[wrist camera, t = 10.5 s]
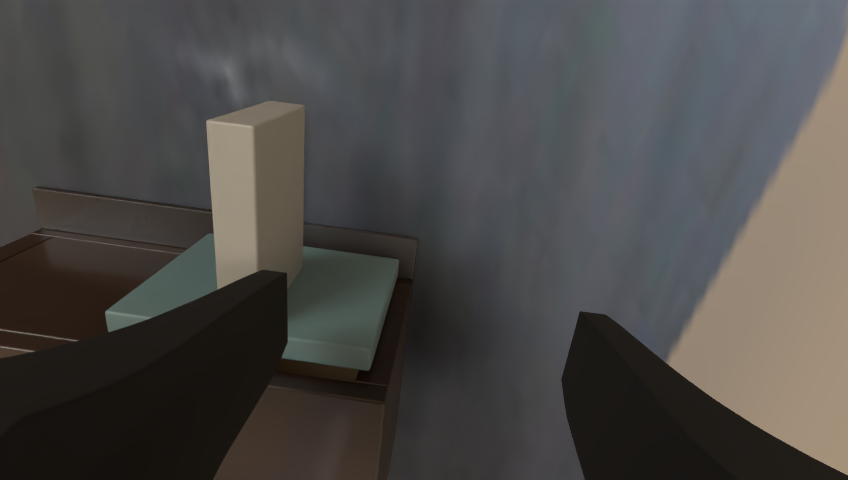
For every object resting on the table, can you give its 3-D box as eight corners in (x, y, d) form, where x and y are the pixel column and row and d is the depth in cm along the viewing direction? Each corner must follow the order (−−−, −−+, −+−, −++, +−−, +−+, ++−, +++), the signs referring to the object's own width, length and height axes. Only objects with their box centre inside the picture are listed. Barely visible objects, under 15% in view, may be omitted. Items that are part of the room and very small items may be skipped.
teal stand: (397, 276, 19) (369, 372, 14) (210, 249, 20) (107, 334, 14) (414, 110, 17) (388, 145, 11) (197, 82, 17) (65, 103, 11)
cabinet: (394, 437, 24) (364, 604, 17) (82, 390, 24) (-75, 533, 17) (417, 237, 19) (390, 349, 12) (37, 185, 20) (-195, 265, 13)
